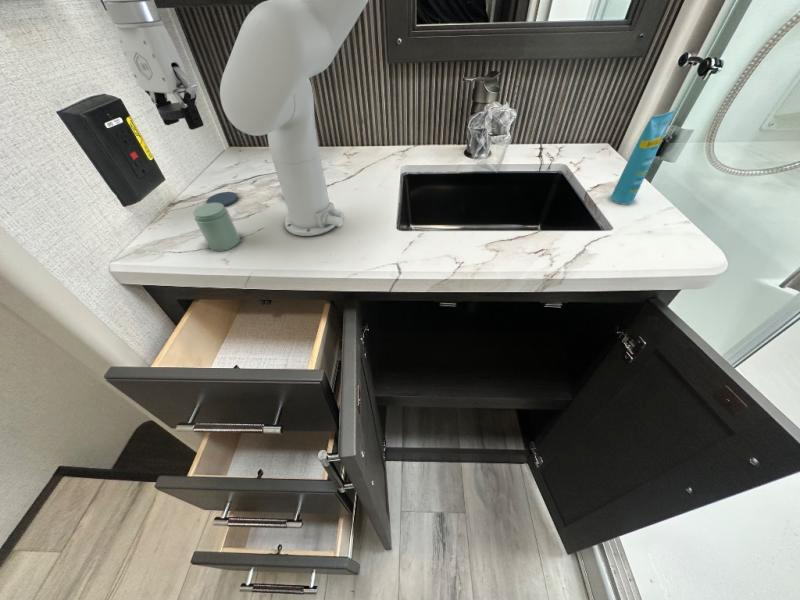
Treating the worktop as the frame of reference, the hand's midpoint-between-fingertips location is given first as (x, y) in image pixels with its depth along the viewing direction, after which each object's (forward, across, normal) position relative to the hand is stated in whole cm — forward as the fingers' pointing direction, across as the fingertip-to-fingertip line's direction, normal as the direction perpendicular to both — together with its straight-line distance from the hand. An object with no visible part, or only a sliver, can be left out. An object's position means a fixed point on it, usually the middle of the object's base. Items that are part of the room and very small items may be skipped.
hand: (184, 124), depth 70 cm
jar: (+20, +13, -11) cm, 26 cm away
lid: (-3, 0, 0) cm, 3 cm away
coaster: (+20, -3, +3) cm, 20 cm away
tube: (+19, +90, +42) cm, 102 cm away
